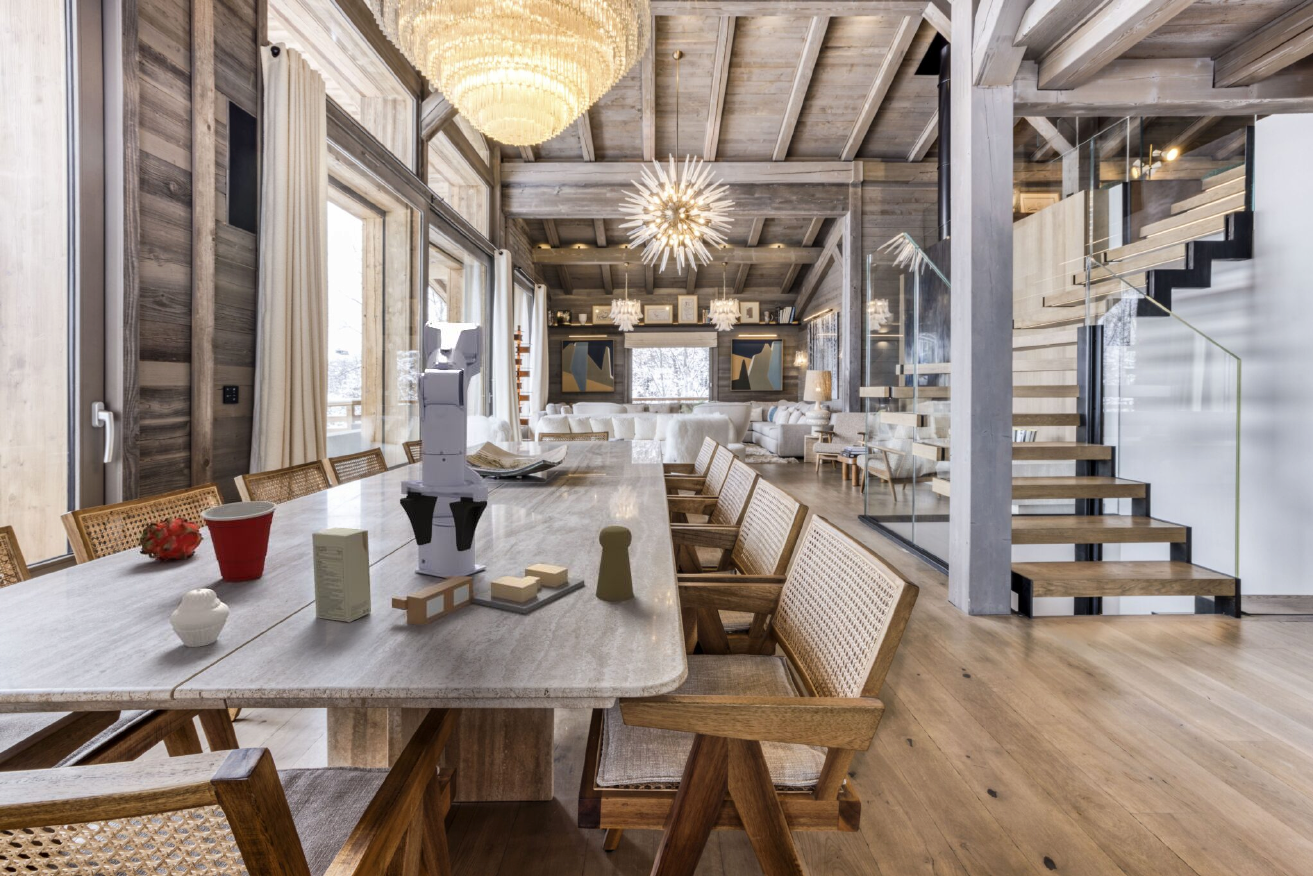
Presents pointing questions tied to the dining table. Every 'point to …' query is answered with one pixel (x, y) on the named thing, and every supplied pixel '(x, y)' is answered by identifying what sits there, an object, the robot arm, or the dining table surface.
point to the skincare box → (341, 574)
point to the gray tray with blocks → (529, 589)
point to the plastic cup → (240, 537)
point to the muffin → (199, 618)
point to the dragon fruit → (170, 539)
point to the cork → (615, 565)
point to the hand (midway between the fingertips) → (443, 546)
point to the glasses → (436, 600)
